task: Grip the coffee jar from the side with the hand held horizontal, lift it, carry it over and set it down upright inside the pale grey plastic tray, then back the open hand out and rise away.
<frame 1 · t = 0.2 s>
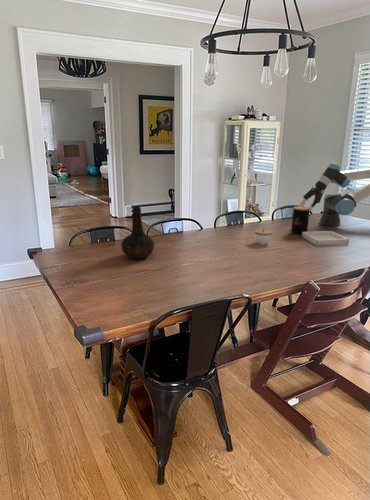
hand: (304, 208, 266), 15 cm above the table, tool tilted 35°, fingers open, 13 cm apart
glass bottle: (138, 257, 207), on the table
lidded jar: (262, 243, 234), on the table
coffee jar: (298, 233, 259), on the table
tray: (324, 240, 241), on the table
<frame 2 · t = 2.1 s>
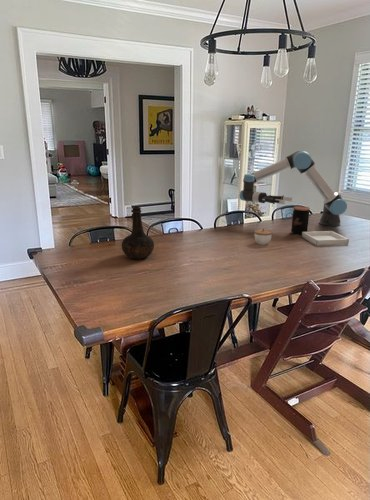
hand: (288, 200, 258), 22 cm above the table, tool horizontal, fingers open, 13 cm apart
nothing on the table moved.
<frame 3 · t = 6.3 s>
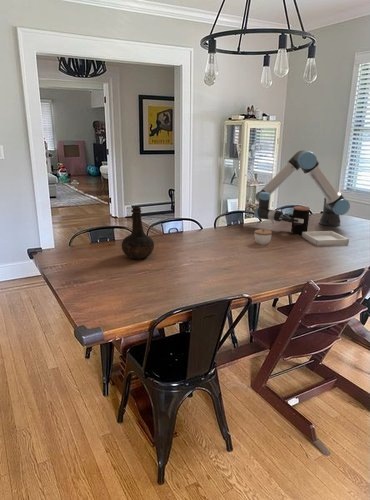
hand: (306, 219, 254), 10 cm above the table, tool horizontal, fingers closed on coffee jar, 11 cm apart
coffee jar: (298, 233, 259), on the table, touching gripper
everything else where it was.
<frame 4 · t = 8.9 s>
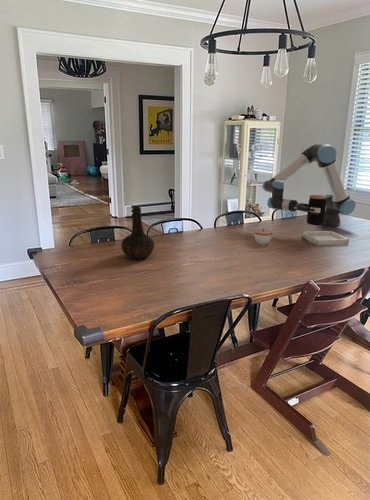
hand: (323, 209, 238), 20 cm above the table, tool horizontal, fingers closed on coffee jar, 11 cm apart
coffee jar: (314, 224, 244), point 10 cm above the table, touching gripper
everything else where it was.
when the fingers open (12 cm above the table, at t = 11.8 s): coffee jar drops 1 cm, resting on tray.
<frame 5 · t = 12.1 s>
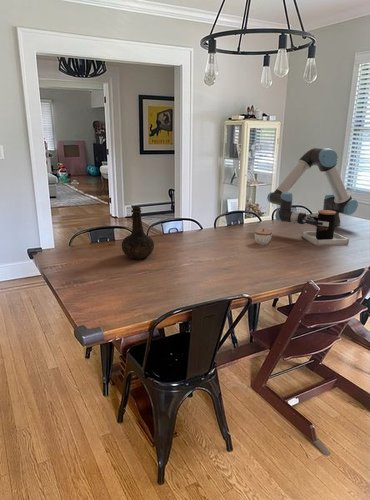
hand: (331, 222, 236), 12 cm above the table, tool horizontal, fingers open, 13 cm apart
coffee jar: (324, 239, 241), point 1 cm above the table, touching tray
everything else where it was.
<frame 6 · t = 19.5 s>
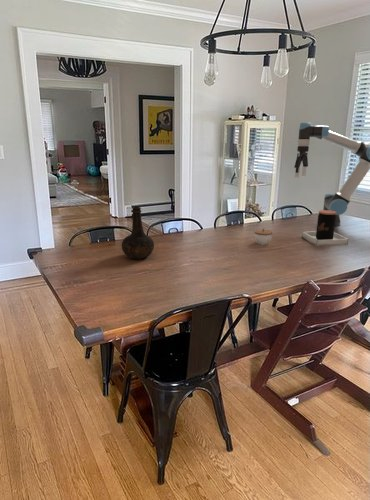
hand: (300, 176, 267), 37 cm above the table, tool pointing down, fingers open, 13 cm apart
nothing on the table moved.
at the end: coffee jar inside the target area on the tray (0.1 cm from its centre), point 0.8 cm above the tray's base; coffee jar tilted 0°; the gripper is holding nothing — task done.
